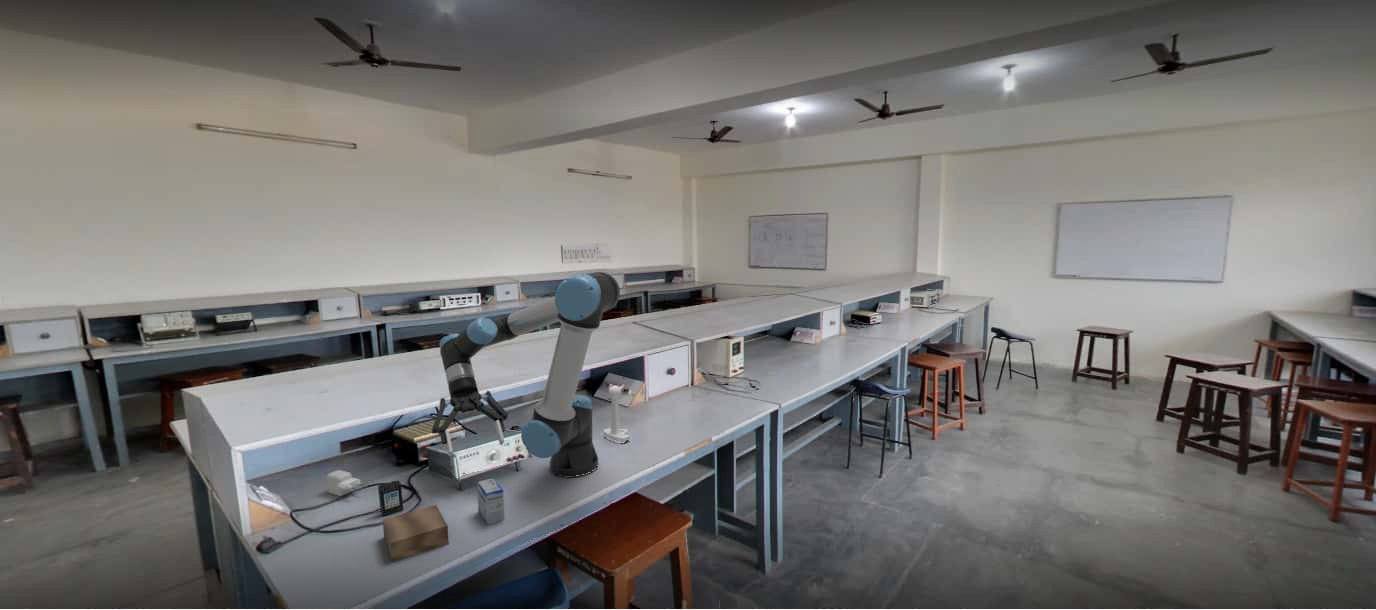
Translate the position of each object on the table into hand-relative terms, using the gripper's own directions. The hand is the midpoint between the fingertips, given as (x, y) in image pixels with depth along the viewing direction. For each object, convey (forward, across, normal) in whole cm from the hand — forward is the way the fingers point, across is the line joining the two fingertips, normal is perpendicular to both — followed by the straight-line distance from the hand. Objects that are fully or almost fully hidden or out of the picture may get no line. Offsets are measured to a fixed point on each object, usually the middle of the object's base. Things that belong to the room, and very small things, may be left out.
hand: (477, 448), depth 146 cm
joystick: (-2, -53, -23) cm, 58 cm away
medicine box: (+18, 0, -3) cm, 19 cm away
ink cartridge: (+6, +21, -15) cm, 27 cm away
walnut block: (+19, +18, -2) cm, 26 cm away
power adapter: (-6, +30, -28) cm, 41 cm away
